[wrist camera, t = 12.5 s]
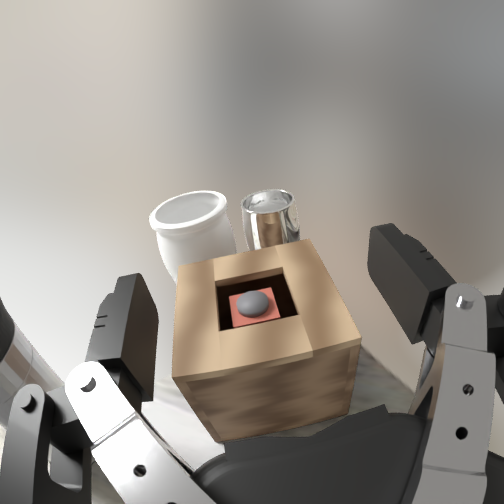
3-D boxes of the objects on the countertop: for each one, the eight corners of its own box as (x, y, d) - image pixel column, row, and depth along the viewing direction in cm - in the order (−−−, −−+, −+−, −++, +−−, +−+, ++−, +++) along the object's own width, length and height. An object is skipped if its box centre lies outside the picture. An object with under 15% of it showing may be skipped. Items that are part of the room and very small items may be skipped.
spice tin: (253, 392, 32) (232, 322, 26) (248, 364, 36) (227, 291, 29) (289, 384, 32) (279, 312, 26) (281, 357, 36) (270, 282, 29)
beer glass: (312, 299, 44) (306, 203, 36) (266, 317, 43) (248, 220, 34) (292, 273, 50) (282, 183, 41) (250, 287, 48) (232, 197, 40)
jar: (169, 293, 50) (138, 211, 42) (222, 264, 54) (202, 183, 46) (200, 330, 42) (166, 238, 34) (259, 294, 47) (242, 202, 38)
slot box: (215, 442, 28) (171, 377, 21) (208, 344, 40) (178, 265, 33) (347, 413, 29) (361, 337, 21) (313, 322, 40) (309, 238, 33)
